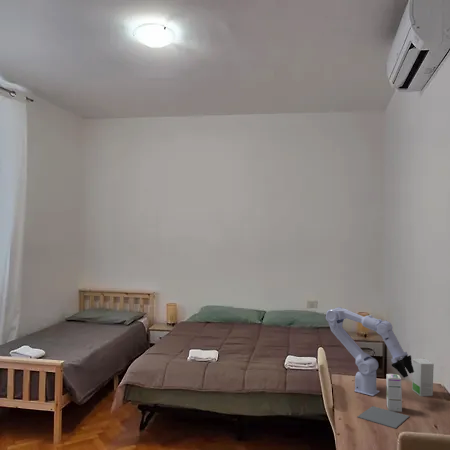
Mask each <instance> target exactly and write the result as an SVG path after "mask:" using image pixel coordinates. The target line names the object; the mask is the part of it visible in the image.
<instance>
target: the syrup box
mask: <svg viewBox="0 0 450 450" xmlns="http://www.w3.org/2000/svg"><path fill="white" fill-rule="evenodd" d="M385 376H386V379H385V380H386V381H385V382H386V383H385V384H386V385H385V386H386V408H387V410H389V411H393V412H397V413H403V395H402V394H403V391H402V378H401V377H402V376H401V374H399V373H398V374H395V373H386V375H385Z"/></svg>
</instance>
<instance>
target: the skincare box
mask: <svg viewBox="0 0 450 450" xmlns="http://www.w3.org/2000/svg"><path fill="white" fill-rule="evenodd" d="M434 364H435V363H433V362H431V360H428V359H426V358H424V357H423V358H413V359H412V366H413V369H414V372H413V373H412V378H411V380H412V381H411V382H412V383H411V390H412V391H413V392H414V393H415V394H417V395H418V396H419V397H433V395H434V369H435V367H434Z"/></svg>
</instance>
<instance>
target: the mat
mask: <svg viewBox="0 0 450 450" xmlns="http://www.w3.org/2000/svg"><path fill="white" fill-rule="evenodd" d="M356 418H358V419H361V420H363V421H368V422H372V423H376V424H378V425H381V426H385V427H388V428H391V429H397V428H398V427H400V425H402V424H403V423H404V422H405V421H407V420H408V419H409V418H410V415H406V414H403V413H401V412H395V411H389V410H388V409H386V408H382V407H381V408H380V407H377V406H374V405H372V406H370V407H369V408H367V409H366V410H365V411H363V412H362V413H360V414H359V415H357V417H356ZM407 418H408V419H407Z"/></svg>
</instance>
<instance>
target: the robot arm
mask: <svg viewBox="0 0 450 450" xmlns="http://www.w3.org/2000/svg"><path fill="white" fill-rule="evenodd" d="M346 319H348V320H350V321H353V322H357V323H360V324H361V325H362V327H364V328H367V329H369V330H371V331H374V332H376V333H377V335H379V336H381V338H382V340H383V341H384V344H385V345H386V347H387V349H388V351H389V354H390V356H391V357H392V358H391V359H390V361H391V367H393V368H394V369H395V370H396V371H397V372H398V374H399V375H400V376H401V377H402V378H404V379H405V378H408V377H409V374H413V372H414V369H413V360H412V355H409V354H408V352H407V351H404V349H403V348H402V345H401V344H400V342H399V340H398V338H397V336H396V334H395V332H394V330H393V325H392V323H391V322H390V321H388V320H387V319H385V320H382V319H381V318H379V319H378V318H376V317H374V316H373V315H372V314H370V315H365V316H363V315H360V314H359V313H356V312H353V311H351V310H350V309H347V308H343V307H341V306H337V307H336V308H332V309H331V308H329V309H328V310H327V311H326V313H325V320H326V322H327V323H328V326H329V328H330V331H331V333H332V334H333V335H334V336H335V338H336V339H337V340H338V341H339V342H340V344H342V345H343V346H344V348H346V350H347V352H348V353H350V355H351V356H352V357H353V358H354V359H355V365H356V366H357V368H358V371H357V372H356V373H355V376H354V378H355V379H354V392H356V393H359V394H364V395H367V396H371V397H374V396H376V395H377V394H378V393H380V392H381V391H380V390H378V389H377V370H378V369H379V362H378V360H377V359H376V358H374V357H372V356H371V355H370V354H369V353H366V352H364V350H362V348H361V347H360V346H359V345H358V344H357V343H356V342H355V340H354V339H353V338H352V337H351V336H350V335H349V333H348V332H347V331H346V330H345V329H344V328H343V323H344V321H345V320H346Z"/></svg>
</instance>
